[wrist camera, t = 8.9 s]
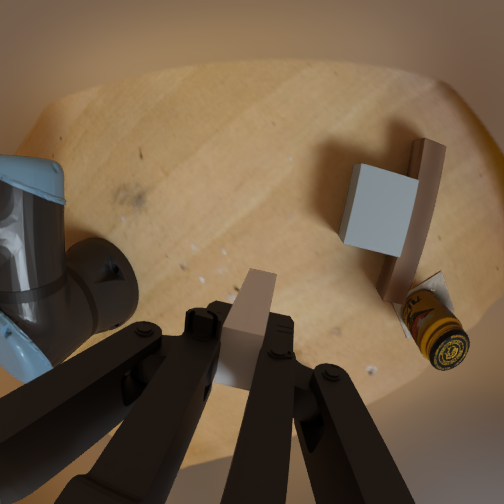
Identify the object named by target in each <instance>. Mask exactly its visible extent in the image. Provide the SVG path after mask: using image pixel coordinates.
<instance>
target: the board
mask: <svg viewBox="0 0 504 504" xmlns="http://www.w3.org/2000/svg"><path fill="white" fill-rule="evenodd" d="M445 151H446V146H445V145H442V144H440V143H437V142H435V141H432V140H430V139H427V138H422V139H418V140H415V141H413V145H412V151H411V157H410V162H409V167H408V172H407V177H410V178H413V179H416V180H419V183H418V188H417V193H416V197H415V202H414V206H413V211H412V215H411V219H410V223H409V227H408V231H407V234H406V238H405V242H404V245H403V249H402V252H401V256H400V257H396V256H392V255H388V254H387V255H386V259H385V262H384V265H383V268H382V271H381V274H380V277H379V280H378V283H377V286H376V290H377V291H378V293H379V295H380V296H381V298H382V300H383V301H387V302H392V303H396V304H401V305H404V303H405V300H406V298H407V295H408V292H409V290H410V287H411V284H412V281H413V278H414V275H415V273H416V270H417V267H418V264H419V260H420V257H421V254H422V251H423V248H424V244H425V241H426V237H427V234H428V230H429V227H430V223H431V219H432V215H433V211H434V207H435V203H436V198H437V194H438V189H439V184H440V180H441V174H442V169H443V163H444V158H445Z"/></svg>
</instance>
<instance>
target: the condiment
mask: <svg viewBox="0 0 504 504" xmlns="http://www.w3.org/2000/svg"><path fill="white" fill-rule="evenodd" d="M431 289H432V290H436V291H431ZM393 305H394V308H395V310H396V313H397V315H398V317H399V320H400V322H401V324H402V327H403V329H404V332H405V334H406V337H407V339H409V338H411V337H413V339H414V340H415V343H416V344H417V346H418V347H419V349H420V352H421V353H422V354H423V356H424V357H425V358H427V359H428V360H429V361H430V362H431V364H432V366H433V367H435V368H436V369H438V370H442V371H445V370H449V369H452V368H454V367H456V366H457V365H459V364H460V363H461V362H462V361H463V360H464V358H465V356H466V354H467V352H468V349H469V346H470V341H469V338H468V335H467V334H466V333H465V332H464V330H463V327H462V324H461V323H460V321H459V320H458V319H457V318H456V317H455V315H454V314H453V312H454V309H453V306H452V303H451V299H450V296H449V293H448V290H447V287H446V284H445V281H444V277H443V274H442V272H439V273H438V274H436V275H435V276H433V277H432V278H430V279H428V280H427V281H425V282H424V283H422V284H420V285H418V286H416V287H415V288H413V289H411V290H410V291H409V292H408V295H407V298H406V300H405V303H404V305H401V304H396V303H393Z"/></svg>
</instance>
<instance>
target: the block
mask: <svg viewBox="0 0 504 504" xmlns="http://www.w3.org/2000/svg"><path fill="white" fill-rule="evenodd" d="M418 183H419V180H416V179H413V178H410V177H407V176H404V175H400V174H397V173H394V172H391V171H387V170H384V169H381V168H377V167H374V166H370V165H366V164H363V163H360V164H355V165H354V166H353V171H352V176H351V181H350V186H349V191H348V195H347V200H346V204H345V209H344V213H343V217H342V222H341V226H340V230H339V234H338V235H339V237H340V239H341V240H342V242H343V244H346V245H351V246H355V247H359V248H363V249H367V250H372V251H376V252H380V253H384V254H388V255H392V256H396V257H400V256H401V252H402V249H403V245H404V242H405V238H406V234H407V231H408V227H409V223H410V219H411V215H412V211H413V206H414V202H415V197H416V193H417V188H418Z"/></svg>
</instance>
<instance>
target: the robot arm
mask: <svg viewBox="0 0 504 504" xmlns="http://www.w3.org/2000/svg"><path fill="white" fill-rule="evenodd" d="M64 205H66V200H65V199H64V172H63V169H62V167H61V165H60V164H59V163H57V162H56V161H53V160H49V159H42V158H34V157H25V156H14V155H0V364H1V366H2V367H3V368H4V369H5V370H6V371H7V372H8V373H10V374H11V375H12V376H14V377H15V378H16V379H18V380H19V381H21V382H24V383H26V384H25V385H23V386H21V387H19V388H17V389H16V390H14V391H12V392H10V393H9V394H7V395H5V396H3V397H1V398H0V504H12V503H14V502H17V501H19V500H21V499H23V498H25V497H26V496H28V495H30V494H31V493H33V492H34V491H35V490H37V489H38V488H39V487H41V486H42V485H43V484H44V483H46V482H47V481H49V480H50V479H51V478H52V477H54V476H55V475H56V474H58V473H59V472H60V471H61V470H63V469H64V468H65V467H67V466H68V465H69V464H70V463H72V462H73V461H74V460H75V459H77V458H78V457H79V456H80V455H82V454H83V453H84V452H85V451H87V450H88V449H89V448H90V447H92V446H93V445H94V444H95V443H96V442H98V441H99V440H100V439H101V438H102V437H104V436H105V435H106V434H107V433H109V432H110V431H111V430H112V429H113V428H115V427H116V426H117V425H118V424H119V423H120V422H122V421H123V420H124V421H123V422H122V424H121V425H120V427H119V428H118V430H117V431H116V432H115V434H114V435H113V437H112V439H111V440H110V442H109V443H108V445H107V446H106V448H105V449H104V451H103V452H102V454H101V455H100V457H99V458H98V460H97V461H96V463H95V464H94V466H93V467H92V469H91V470H90V471H89V472H88V473H87V474H83V475H76V476H75V477H73V478H72V479H71V480H70V481H69V482H68V484H67V485H66V486H65V488H64V489H63V491H62V492H61V494H60V495H59V497H58V498H57V500H56V501H55V502H54V504H165V502H166V500H167V497H168V495H169V493H170V490H171V488H172V485H173V483H174V480H175V478H176V476H177V473H178V471H179V469H180V466H181V464H182V461H183V459H184V456H185V454H186V451H187V449H188V447H189V444H190V442H191V439H192V437H193V434H194V432H195V429H196V427H197V424H198V422H199V419H200V417H201V414H202V412H203V409H204V407H205V405H206V402H207V400H208V397H209V395H210V392H211V388H212V381H213V379H214V376H215V379H214V382H216V383H220V384H223V385H227V386H232V387H236V388H240V389H244V390H249V391H250V392H249V396H248V400H247V403H246V407H245V411H244V416H243V420H242V424H241V428H240V432H239V436H238V439H237V443H236V447H235V451H234V455H233V459H232V462H231V466H230V470H229V474H228V477H227V481H226V485H225V488H224V492H223V495H222V499H221V503H220V504H285V502H286V493H287V483H288V472H289V461H290V449H291V436H292V421H293V418H294V424H295V428H296V431H297V435H298V439H299V443H300V446H301V450H302V454H303V457H304V461H305V465H306V468H307V472H308V475H309V479H310V483H311V487H312V491H313V494H314V497H315V501H316V504H415V502H414V500H413V498H412V496H411V494H410V492H409V490H408V488H407V486H406V484H405V482H404V480H403V478H402V476H401V474H400V472H399V470H398V468H397V466H396V464H395V462H394V460H393V458H392V456H391V454H390V452H389V450H388V448H387V446H386V444H385V442H384V440H383V439H382V437H381V435H380V433H379V431H378V429H377V427H376V425H375V423H374V421H373V419H372V418H371V416H370V414H369V412H368V410H367V408H366V406H365V404H364V403H363V401H362V399H361V397H360V395H359V393H358V391H357V390H356V388H355V386H354V384H353V382H352V380H351V378H350V377H349V375H348V373H347V372H346V371H345V370H344V369H342V368H341V367H339V366H337V365H334V364H328V363H325V364H320V365H318V366H316V367H315V369H311V368H308V367H306V366H304V365H302V364H301V363H299V362H298V361H297V360H296V356H295V353H294V352H293V338H294V335H293V334H294V322H293V320H292V319H291V317H290V316H286V315H282V314H277V313H272V312H269V311H270V306H271V301H272V296H273V291H274V286H275V281H276V276H277V274H274V273H270V272H265V271H260V270H256V269H251V268H250V270H249V272H248V274H247V276H246V278H245V281H244V283H243V285H242V287H241V289H240V291H239V293H238V295H237V297H236V299H235V301H234V303H233V304H229V303H225V302H221V301H217V300H216V301H214V302H212V303H210V304H209V305H208V306H207V308H193V309H189V310H188V311H187V312H186V317H185V328H184V332H183V334H182V335H180V336H169V335H162V330H161V328H160V327H159V326H158V325H156V324H154V323H151V322H146V321H140V322H135V323H132V324H130V325H128V326H127V327H125V328H123V329H121V330H120V331H118V332H116V333H114V334H113V335H111V336H109V337H107V338H106V339H104V340H102V341H100V342H99V343H97V344H95V345H93V346H92V347H90V348H88V349H86V350H85V351H83V352H81V353H79V354H77V355H76V356H74V357H72V358H70V359H69V360H67V361H65V362H63V361H64V360H65V359H66V358H67V357H69V356H70V355H71V354H72V353H73V352H74V351H75V350H76V349H77V348H79V347H80V346H81V345H82V344H83V343H84V342H85V341H86V340H88V339H89V338H90V337H91V336H92V335H94V334H98V333H101V332H105V331H108V330H112V329H116V328H118V327H120V326H122V325H123V324H124V323H125V322H126V321H128V320H129V319H130V318H131V317H132V315H133V314H134V312H135V310H136V308H137V304H138V297H139V292H138V284H137V280H136V276H135V274H134V271H133V269H132V267H131V265H130V263H129V262H128V260H127V259H126V257H125V256H124V255H123V253H122V252H121V251H120V250H119V249H118V248H117V247H115V246H114V245H113V244H111V243H110V242H108V241H106V240H103V239H99V238H88V239H85V240H83V241H80V242H78V243H76V244H74V245H73V246H71V247H70V248H69V249H68V251H67V252H66V253H65V238H64ZM62 362H63V363H62ZM61 363H62V364H61Z"/></svg>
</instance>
